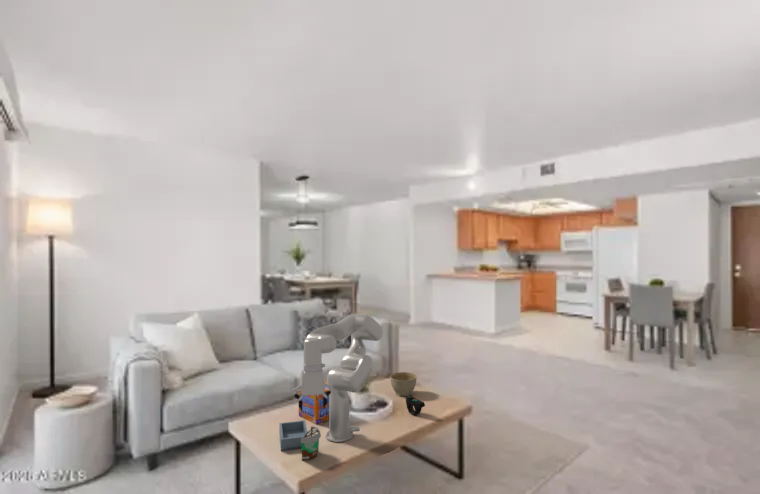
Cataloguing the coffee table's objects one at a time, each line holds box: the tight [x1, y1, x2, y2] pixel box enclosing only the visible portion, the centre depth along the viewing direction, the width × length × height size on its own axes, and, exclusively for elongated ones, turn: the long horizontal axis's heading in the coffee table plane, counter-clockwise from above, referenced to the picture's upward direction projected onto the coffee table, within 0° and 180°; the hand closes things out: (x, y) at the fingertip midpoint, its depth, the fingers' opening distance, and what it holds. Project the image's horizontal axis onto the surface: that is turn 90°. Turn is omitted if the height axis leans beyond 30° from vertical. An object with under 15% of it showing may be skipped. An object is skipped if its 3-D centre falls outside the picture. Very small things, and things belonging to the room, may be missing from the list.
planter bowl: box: [389, 371, 418, 397], centre depth 252 cm, size 16×16×11 cm
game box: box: [298, 381, 329, 425], centre depth 219 cm, size 16×16×16 cm
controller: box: [404, 393, 426, 416], centre depth 220 cm, size 4×12×10 cm, turn 38°
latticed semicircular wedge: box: [301, 425, 322, 462], centre depth 177 cm, size 12×6×10 cm, turn 168°
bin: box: [278, 419, 309, 452], centre depth 191 cm, size 12×18×5 cm, turn 16°
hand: (312, 407), depth 177 cm, fingers open, 9 cm apart
